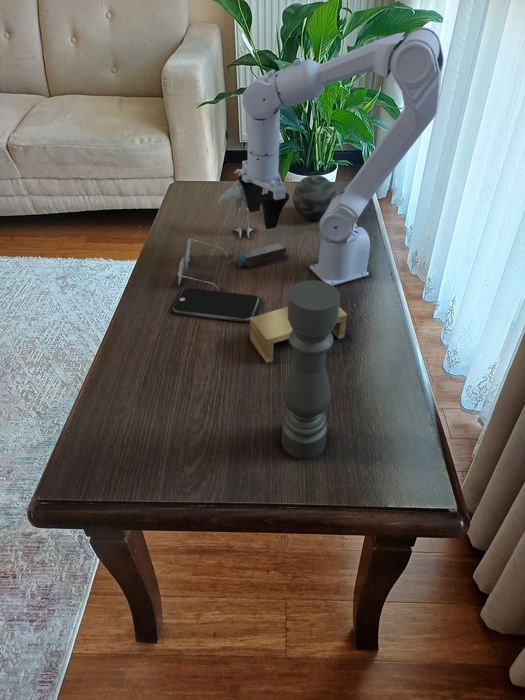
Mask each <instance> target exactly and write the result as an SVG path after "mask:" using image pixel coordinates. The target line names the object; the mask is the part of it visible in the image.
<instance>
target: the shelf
mask: <svg viewBox="0 0 525 700" xmlns="http://www.w3.org/2000/svg"><path fill="white" fill-rule="evenodd" d="M347 318H348V314H347V313H346V311H345V310H343V309H342V308H341V307H340V306H339V313H338V321H337V323H336V325H335V326H334V328H333V330H332V331H331V334H332V335H333V336H335V337H336V338H337V340H341V339H344V338H345V333H346V327H347ZM249 328H250V331H249V333H250V335H249V336H250V342H251V343H252V345H253V347H254V348H255V349H256V350H257V352H258V353H259V355H260V356H261V357H262V358H263V360H264V362H265V363H266V364H268V363H272V362H274V344H276V343H279V342H282V341H287V340H289V335H290V332H291V331H292V330H293V329H292V327H291V325H290V322H289V320H288V306H285V307H281V308H279V309H275V310H271V311H269V312H265V313H261V314H257V315H254V316H253V317H251V318H250V321H249Z"/></svg>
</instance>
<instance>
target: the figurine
mask: <svg viewBox="0 0 525 700" xmlns="http://www.w3.org/2000/svg"><path fill="white" fill-rule="evenodd" d="M233 173H234V174H237V178H238V177H239V176H241V175H244V174H245V172H244V171H242V168H240V169H239V168H237V169H236V170H235V171H233ZM262 194H264V193H263V192H262ZM234 202H235V209H236V213H237V214H238V227H237V228H235V229H234V231H235V232H237V233H238V234H239V239H241V237H242V231H243V230H242V226H241V210H242V205H243V203H244V206H245V210H246V224H247V225H246V228H245V231H246V235H247V239H250V233H251V232H252V231H254V229H253V228H251V227H250V225H249V222H250V221H249V213H250V212H249V209H248V206H247V202H246V197H245V194H244V191H243V188H242V186H241V184H240V182H239V180H238V179H237V180H236V181H235V182H234V183H233V185H232V186H231V187H230V188H228V189H226V190H225V191H224V192H223V194H221V195H220V196H219V197H218V200H217V204H218V205H219V206H220V205H223V206H225V204H227V203H228V205H231V204H233V203H234Z"/></svg>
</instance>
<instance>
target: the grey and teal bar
mask: <svg viewBox="0 0 525 700" xmlns="http://www.w3.org/2000/svg"><path fill="white" fill-rule="evenodd" d="M286 252H287V247H285V246H283V245H282V244H281V243H280V242H277V243H274V244H269V245H265V246H260V247H257V248H254V249H250V250H245V251H242V252H241V254H239V255H236V264H237V266H238V267H239V268H242V267H245V268H250V267H254V266H258V265H259V266H260V265H263V264H266V263H269V262H274V261H277V260H281V259H284V258H285V253H286Z"/></svg>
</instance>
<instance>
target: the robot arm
mask: <svg viewBox="0 0 525 700" xmlns="http://www.w3.org/2000/svg"><path fill="white" fill-rule="evenodd" d="M405 33H406V32H405V31H403V32H398V33H394V34H392V35H389V36H385V37H383V38H379V39H377V40H374V41H371V42H369V43H367V44H365V45H362V46H360V47H358V48H355V49H353V50H350V51H348V52H346V53H343V54H341V55H339V56H336V57H334V58H332V59H329V60H327V61H324V62H323V63H319V62H317V60H313V59H311V58H308V59H304V58H303V57H299V58H296V59H295V60H294V61H292V63H293V65H290V66H287V67H285V68H282V69H280V70H278V71H276V70H275V69H271V70H269V71H268V72H267V74H263V75H261V76H259V77H258V78H256V79H255V80H254V81H253V82H251V83H250V84H249V85H248V86H247V87H246V88H245V89H244V91H243V93H242V106H243V108H244V110H245V112H246V113H247V125H246V126H247V128H246V129H247V135H246V136H247V141H246V142H247V143H246V144H247V160H242V162H241V164H242V165H241V166H242V168H241V169H242V171H244V172H245V174H244V175H241V176H239V177H238V176H237V181H238V180H239V182H240V184H241V186H242V188H243V191H244V194H245V197H246V202H247V206H248V209H249V213H254V212H259V211H260V209H261V208H262V214H263V223H264V228H265V229H266V230H271V229H275V228H277V226H278V223H279V221H280V216H281V214H282V211H283V209H284V207H285V206H286V204H287V202H288V201H289V200H290V194H289V193H288V192H287V189H286V187H285V185H284V184H283V181H282V178H281V174H280V173H279V165H280V164H279V162H280V133H281V131H280V129H281V123H280V117H281V109H283V110H284V109H288V108H290V107H293V106H297V105H299V104H302V103H305V102H309V101H311V100H313V99H316V98H319V97H321V95H322V93H323V91H324V89H325V86H329V85H331V84H335V83H338V82H341V81H344V80H347V79H351V78H354V77H357V76H360V75H363V74H366V73H369V72H370V73H371V72H372V73H375V74H376V75H378V76H380V77H382V78H385V79H388V78H389V76H390V74H391V75H392V77H393V80H394V81H395V83H396V84H397V86H398V88H399V89H400V91H401V97H402V101H403V106H404V107H403V109H402V111H401V112H400V114H399V115H398V116H397V117H396V119H395V120H394V122H393V123H392V125H391V126H390V128H389V129H388V130H387V131H386V133H385V135H384V136H383V137H382V138H381V140H380V141H379V142H378V144H377V145H376V147H375V148H374V149H373V151H372V152H371V154H370V155H369V156H368V158H367V159H366V160H365V162H364V163H363V165H362V166H361V167H360V169H359V170H358V172H357V173H356V174H355V175H354V177H353V178H352V180H350V182H348V184H347V185H346V186H345V188H343V189H342V190H340V191H339V192H337V193H336V194H335V195H334V196H333V197H332V199H331V201H330V204H329V206H328V208H327V210H326V212H325V214H324V215H323V216H322V217H321V219H319V231H320V238H319V251H318V263H313V264H310V265H309V269H310V270H311V271H312V272H313V273H314V274H315V275H316V276H317V277H318V278H319V279H320V281H322V282H326V283H329V284H331V285H332V286H334V287H335V286H337V285H340V284H344V283H347V282H350V281H354V280H358V279H361V278H364V277H368V276H369V275H370V273H369V272H368V264H369V256H370V252H371V239H370V235H369V234H368V231H366V229H365V228H363V227H361V226H358V225H357V222H358V219H359V218H360V216H361V215H362V213H363V211H364V210H365V208H366V206H367V205H368V203H369V202H370V200H371V199H372V198H373V197H374V195H375V194H376V193H377V191H378V190H379V189H380V188H381V186H383V184H384V183H385V181H386V180H387V179H388V177H389V176H390V175H391V173H392V172H393V171H394V170H395V169H396V167H397V166H398V165H399V163H400V162H401V161H402V160H403V158H404V157H405V155H406V154H407V153H408V152H409V150H410V149H411V148H412V147H413V146H414V144H415V143H416V142H417V140H418V139H419V138H420V136H421V135H422V134H423V133H424V131H425V130H426V129H427V128H428V126H429V125H430V124H431V122H432V121H433V120H434V119H435V117H436V115H437V114H438V109H439V105H440V95H441V85H442V78H443V77H442V76H443V70H444V69H443V68H444V62H445V57H444V54H443V49H442V44H441V40H440V37H439V35H438V34H437V33H436V31H434V30H433V29H431V28H428V27H424V26H423V27H416V28H413V29H412V30H410V31H408V33H406V34H405ZM264 189H266V190H268V191H267V193H263V190H264ZM262 193H263V194H262Z"/></svg>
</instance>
